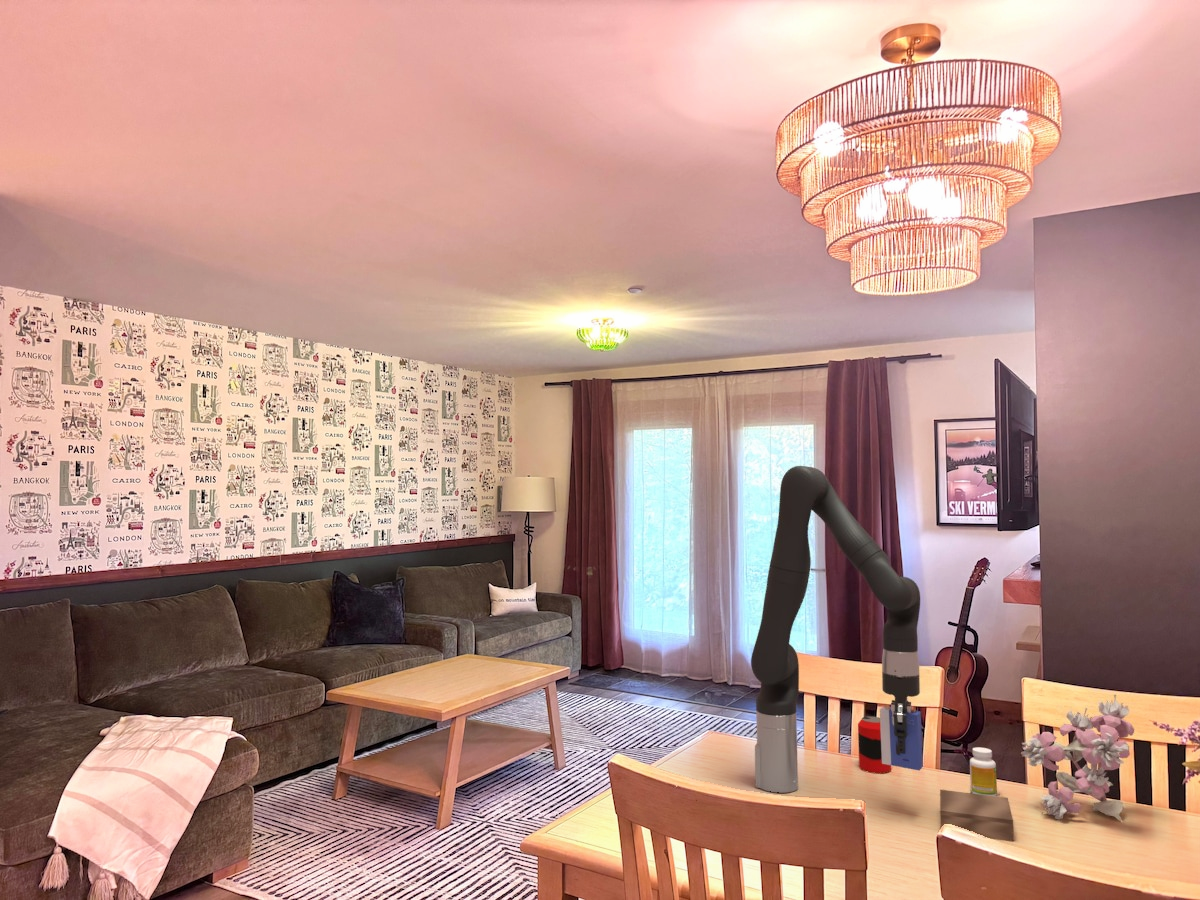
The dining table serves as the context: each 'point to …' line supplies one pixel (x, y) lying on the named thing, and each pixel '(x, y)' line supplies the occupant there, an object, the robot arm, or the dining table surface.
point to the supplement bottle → (983, 772)
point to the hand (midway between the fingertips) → (901, 752)
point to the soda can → (871, 746)
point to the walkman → (912, 742)
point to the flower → (1092, 751)
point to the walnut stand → (977, 813)
